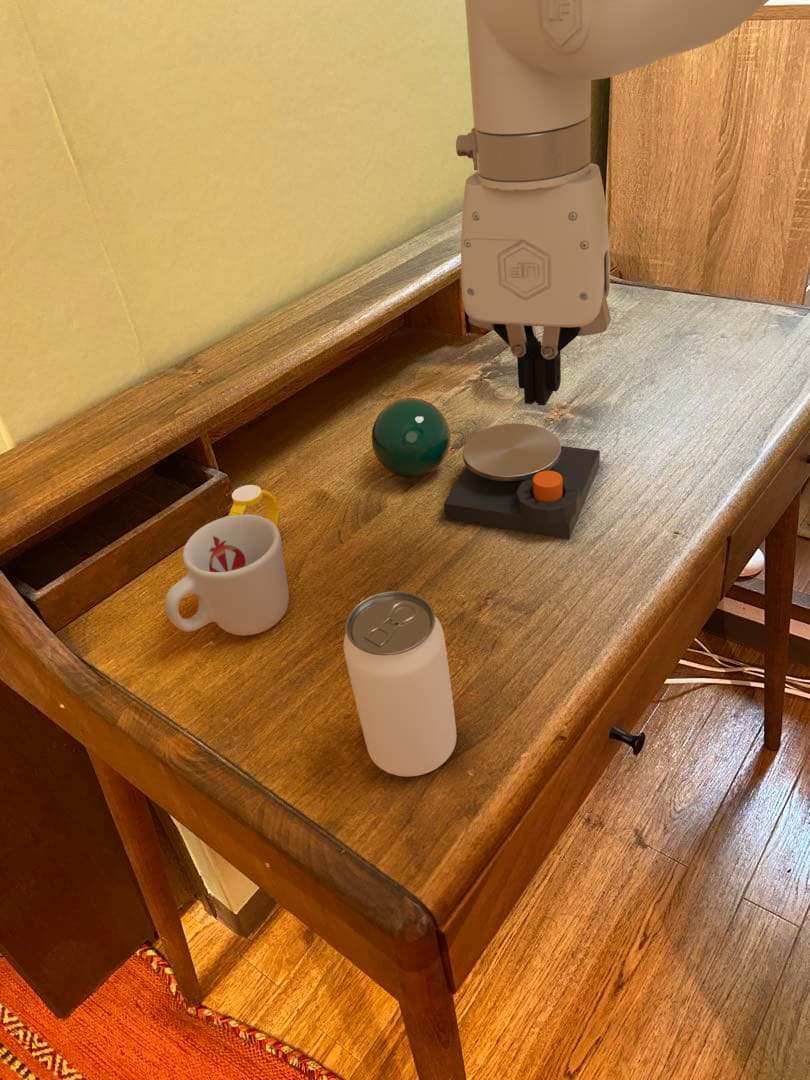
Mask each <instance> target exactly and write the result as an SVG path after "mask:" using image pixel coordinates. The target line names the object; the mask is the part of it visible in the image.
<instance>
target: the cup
mask: <svg viewBox="0 0 810 1080" xmlns="http://www.w3.org/2000/svg"><path fill="white" fill-rule="evenodd" d="M182 562H183V566H184V568H185V569H186V574H185V575H184V576H183V577H182V578H181V579H179V580H178V581H177V582H175V583H174V584H173V585H172V586H171V587H170V588H169V589H168V591H167V593H166V594H165V597H164V610H165V613H166V616H167V618H168V619H169V621H170V622H171V623H172V624H173V625H174V626H175V627H176V628H178V629H179V630H180V631H183V632H187V633H188V632H189V633H190V632H195V631H198V630H199V629H202V628H203V627H205V626H207V625H208V624H210V623H216V625H217V626H218V627H219V628H221V629H222V630H223V631H225V632H227V633H228V634H232V635H235V636H252V635H258V634H260V633H264V632H265V631H267V630H269V629H271V628H272V627H274V626H275V625H277V624H278V623H279V622H280V621H281V620H282V619H283V617H284V616H285V615H286V612H287V610H288V608H289V607H288V606H289V601H290V591H289V585H288V577H287V569H286V564H285V556H284V550H283V544H282V536H281V532H280V530H279V528H278V525H277V526H276V525H275V524H274V523H273V522H272V521H270V520H269V519H267V518H266V516H262V515H258V514H253V513H252V514H250V513H244V514H238V515H231V516H229V515H227V516H223V517H220V518H218V519H215V520H213V521H210V522H208V523H207V524H204V525H203V526H202V527H200V528H198V529H197V530H196V531H195V532H194V533H193V534H192V535H191V536H190V537H189V538H188V540H187V541H186V543H185V545H184V546H183V550H182ZM189 595H196V598H197V600H198V608H197V611H196V612H195V613H194V614H193V615H192V616H191V617H189V618H184V617H182V616H181V614H180V612H179V605H180V603H181V601H182V600H183V599H184V598H185V597H187V596H189Z"/></svg>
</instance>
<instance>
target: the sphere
mask: <svg viewBox="0 0 810 1080" xmlns="http://www.w3.org/2000/svg"><path fill="white" fill-rule="evenodd" d="M371 444H372V445H371V446H372V450H373V453H374V456H375V458H376V459H377V460H378V462H379V463H380V465H381V466H382V467H383V468H384V469H385V470H386V471H388V472H390V473H391V474H392V475H393V474H394V475H395V476H397V477H401V478H405V479H415V478H421V477H424V476H427V475H429V474H431V473H432V472H434V471H435V470H436V469H438V468H439V467H440V465H442V463H443V462H444V461H445V459H446V457H447V456H448V452H449V449H450V446H451V432H450V427H449V423H448V421H447V419H446V417H445V415H444V414H443V413H442V411H440V409H438V408H437V407H436V406H435V405H434V404H433V403H431V402H428V401H426V400H424V399H420V398H416V397H415V398H414V397H411V398H410V397H408V398H407V397H406V398H401V399H397V400H396V401H394V402H391V403H390V404H388V405H386V406H385V408H383V410H381V411H380V413H378V415H377V417H376V419H375V421H374V424H373V426H372V429H371Z"/></svg>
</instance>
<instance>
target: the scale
mask: <svg viewBox="0 0 810 1080" xmlns="http://www.w3.org/2000/svg"><path fill="white" fill-rule="evenodd" d="M600 459H601V450H598V449H591V448H580V447H573V446H566V445H565V446H564V445H561V456H560V459H559V461H558V462H557V464H556V465H555V466H554V467H553V468H552V469H550V470H549V471H555V472H557V473H559V474H560V475H561V476H562V478H563V495H562V497H561V498H560V499H559V500H557V501H552V502H544V501H538V500H536V499H535V498H534V496H533V478H530V479H526V480H520V481H496V480H491V479H487V478H484V477H481V476H479V475H477V474H475V473H473V472H472V471H471V470H470V469H469V468H468V467H467V466H466V467H465V468H464V469H463V471H462V473H461V474H460V476H459V478H458V480H456V482H455V485H454V486H453V488H452V489H451V491H450V493H449V494H448V496H447V498H446V499H445V501H444V502H443V509H444V511H443V512H444V519H445V520H448V521H453V522H460V523H465V524H473V525H480V526H486V527H491V528H496V529H497V528H498V529H505V530H509V531H515V532H516V531H517V532H523V533H528V534H529V533H530V534H536V535H542V536H549V537H554V538H561V539H566V540H570V539H571V536H572V534H573V532H574V529H575V527H576V525H577V522H578V520H579V517H580V515H581V512H582V510H583V508H584V505H585V502H586V500H587V497H588V496H589V492H590V490H591V488H592V486H593V483H594V481H595V478H596V476H597V474H598V471H599V469H600V462H601V461H600Z"/></svg>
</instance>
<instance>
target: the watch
mask: <svg viewBox="0 0 810 1080" xmlns="http://www.w3.org/2000/svg"><path fill="white" fill-rule="evenodd" d="M231 499H232V503H233V504H232V506H231V508H230V510H229V513H228V516H231V515H238V514H245V511H246V510H247V508H248V507H253V506H255V505H257V504H259V503H260V502H261V501H262V500H263V503H264V507H265V518H267V519H269V520H270V521H272V522H273V523H274V524H275V525H276V526H277V527H278V525H279V517H280V516H279V515H280V510H279V506H278V503H277V499H276V497H275V496H274V495H272V493H271V492H270V491H268V490H264V489H262V488H261V487H260V486H259V485H256V484H246V485H242V486H240V487H237V488H236V489H235V490H233V492H232V493H231Z"/></svg>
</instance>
